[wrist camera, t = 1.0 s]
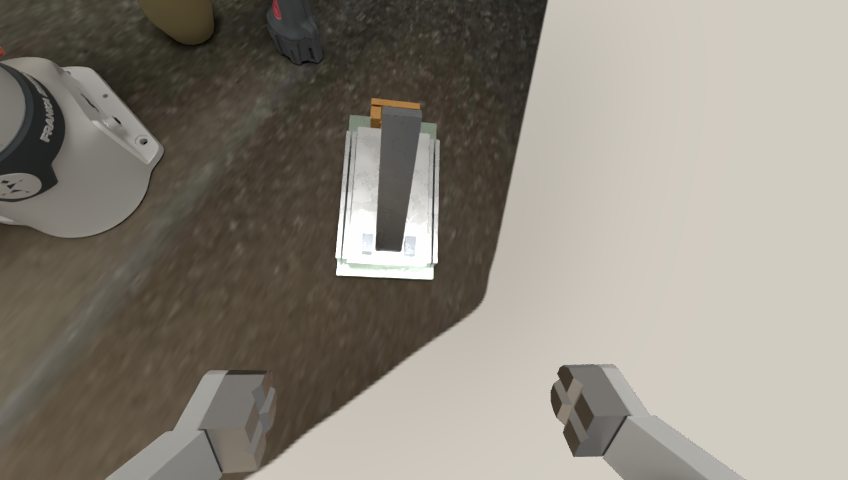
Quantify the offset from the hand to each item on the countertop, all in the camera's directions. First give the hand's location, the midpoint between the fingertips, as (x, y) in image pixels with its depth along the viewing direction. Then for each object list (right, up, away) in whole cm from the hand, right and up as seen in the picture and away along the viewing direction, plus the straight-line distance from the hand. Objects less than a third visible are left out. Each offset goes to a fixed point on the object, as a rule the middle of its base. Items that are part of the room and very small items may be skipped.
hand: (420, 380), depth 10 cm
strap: (-3, +9, +24) cm, 25 cm away
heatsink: (-5, +10, +37) cm, 39 cm away
